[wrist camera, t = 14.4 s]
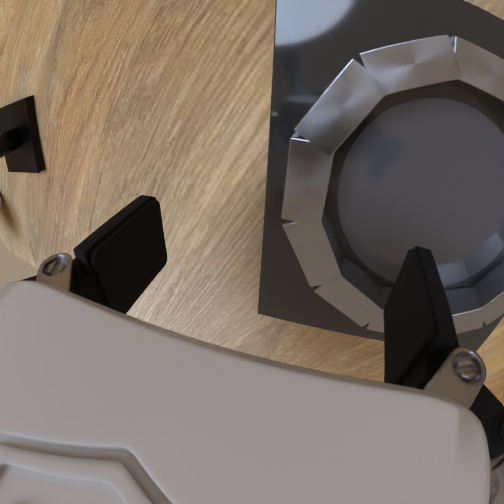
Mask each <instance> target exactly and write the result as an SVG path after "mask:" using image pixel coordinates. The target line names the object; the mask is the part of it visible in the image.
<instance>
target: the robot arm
mask: <svg viewBox="0 0 504 504" xmlns="http://www.w3.org/2000/svg"><path fill="white" fill-rule="evenodd" d="M73 250H74V253H75V256H76V258H75V259H74V260H73V259H72V257H71V255H69V254H67V253H59V254H55V255H52V256H51V257H49V258H47V259H46V260H45V261H44V262H43V263H42V264H41V265H40V268H39V270H38V274H37V276H33V277H30V278H27V279H24V280H21V281H14V282H10V283H8V284H6V285H4V286H3V287H1V288H0V504H504V406H503V404H502V403H501V402H500V401H499V400H498V399H497V398H496V397H495V396H494V395H493V394H492V393H491V391H490V390H489V389H488V388H487V387H486V386H485V385H484V384H483V383H484V381H485V378H486V367H485V364H484V362H483V360H482V358H481V357H480V356H479V355H478V354H477V352H475V351H474V350H472V349H470V348H467V347H459V343H458V339H457V334H456V330H455V326H454V322H453V318H452V314H451V310H450V307H449V303H448V300H447V296H446V293H445V290H444V287H443V284H442V281H441V278H440V275H439V272H438V269H437V266H436V263H435V260H434V257H433V254H432V252H431V250H430V249H427V248H423V247H418V246H415V247H414V248H413V249H409V250H408V252H407V255H406V257H405V260H404V262H403V265H402V267H401V270H400V272H399V275H398V277H397V279H396V282H395V284H394V286H393V288H392V291H391V293H390V295H389V297H388V300H387V302H386V304H385V307H384V312H383V317H384V348H385V373H384V383H383V382H377V381H371V380H365V379H359V378H354V377H348V376H343V375H338V374H333V373H327V372H322V371H317V370H313V369H308V368H303V367H299V366H294V365H290V364H286V363H281V362H277V361H273V360H269V359H265V358H261V357H257V356H254V355H250V354H246V353H242V352H239V351H235V350H231V349H228V348H224V347H221V346H218V345H214V344H211V343H208V342H204V341H201V340H198V339H195V338H192V337H188V336H185V335H182V334H179V333H176V332H173V331H170V330H167V329H164V328H162V327H159V326H156V325H153V324H150V323H147V322H145V321H142V320H139V319H137V318H134V317H131V316H129V315H126V313H127V312H128V311H129V309H130V308H131V307H132V306H133V304H134V303H135V302H136V300H137V299H138V298H139V297H140V295H141V294H142V293H143V292H144V290H145V289H146V288H147V287H148V285H149V284H150V283H151V282H152V281H153V279H154V278H155V277H156V276H157V274H158V273H159V272H160V271H161V270H162V268H163V267H164V266H165V264H166V262H167V252H166V245H165V239H164V232H163V225H162V218H161V210H160V204H159V202H158V201H157V200H156V198H155V197H151V196H144V195H141V196H139V197H138V198H136V199H135V200H134V201H132V202H131V203H130V204H128V205H127V206H126V207H124V208H123V209H122V210H121V211H119V212H118V213H117V214H115V215H114V216H113V217H112V218H110V219H109V220H108V221H107V222H105V223H104V224H103V225H102V226H100V227H99V228H98V229H97V230H96V231H94V232H93V233H92V234H91V235H90V236H88V237H87V238H86V239H85V240H84V241H82V242H81V243H80V244H79V245H78V246H77V247H76V248H74V249H73Z"/></svg>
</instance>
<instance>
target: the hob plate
mask: <svg viewBox="0 0 504 504" xmlns="http://www.w3.org/2000/svg"><path fill="white" fill-rule="evenodd" d="M445 34H447V35H448V36H449V37H452V36H458V37H460V38H462V39H464V40H467V41H469V42H471V43H473V44H475V45H477V46H479V47H481V48H483V49H485V50H487V51H489V52H491V53H493V54H495V55H497V56H498V57H500V58H502V59H504V20H502V19H500V18H498V17H496V16H495V15H493V14H491V13H489V12H487V11H485V10H483V9H481V8H479V7H477V6H475V5H472V4H470V3H468V2H466V1H464V0H276V11H275V34H274V55H273V75H272V95H271V113H270V131H269V149H268V166H267V182H266V198H265V214H264V229H263V244H262V259H261V274H260V288H259V302H258V314H262V315H266V316H270V317H274V318H278V319H282V320H286V321H291V322H295V323H299V324H303V325H308V326H312V327H317V328H321V329H326V330H331V331H335V332H340V333H345V334H350V335H355V336H360V337H365V338H370V339H376V340H381V341H384V333H382V332H377V331H373V330H368V329H366V327H367V324H366V325H365V326H363V327H361V326H359V325H358V324H357V323H355V322H354V321H353V320H351V319H350V318H349V317H347V316H346V315H345V314H343V313H342V312H341V311H339V310H338V309H337V308H335V307H334V306H333V305H331V304H330V303H329V302H327V301H326V300H325V299H323V298H322V297H321V296H319V295H318V294H317V293H315V292H314V289H315V286H313V287H310V285H309V283H308V281H307V278H306V276H305V274H304V272H303V269H302V267H301V265H300V263H299V261H298V258H297V256H296V254H295V252H294V250H293V247H292V245H291V243H290V241H289V239H288V236H287V234H286V232H285V230H284V228H283V223H284V220H285V219H282V218H281V214H282V206H283V197H284V189H285V180H286V171H287V162H288V153H289V143H290V137H291V136H292V135H293V134H294V133H295V131H294V128H295V126H296V125H297V124H298V123H299V121H300V120H301V119H302V118H303V116H304V115H305V114H306V113H307V111H308V110H309V109H310V108H311V106H312V105H313V104H314V103H315V101H316V100H317V99H318V98H319V97H320V95H321V94H322V93H323V92H324V90H325V89H326V88H327V87H328V86H329V84H330V83H331V82H332V81H333V80H334V78H335V77H336V76H337V75H338V74H339V72H340V71H341V70H342V69H343V68H344V66H345V65H346V64H347V63H348V62H349V61H350V59H352V58H353V59H355V60H356V61H357V62H359V61H358V59H357V56H358V55H359V53H361V52H365V51H369V50H372V49H376V48H380V47H384V46H388V45H392V44H396V43H401V42H405V41H410V40H415V39H420V38H426V37H432V36H438V35H445ZM326 201H327V204H328V206H329V209H330V212H331V214H332V217H333V220H334V222H335V225H336V228H337V231H338V233H339V236H340V239H341V242H342V245H343V248H344V250H345V251H346V252H347V253H348V254H350V255H351V256H352V257H353V258H354V259H355V260H357V261H358V262H359V263H360V264H361V265H362V266H364V267H365V268H366V269H367V270H368V271H369V272H371V273H372V274H373V275H374V276H375V277H376V278H377V279H379V280H380V281H381V282H384V283H389V284H393V285H394V284H395V282H396V279H397V277H398V275H399V272H400V270H401V267H402V265H403V262H404V260H405V257H406V255H407V252H408V250H409V249H413V248H414V247H415V246H418V247H423V248H427V249H430V250H431V252H432V254H433V257H434V260H435V263H436V266H437V269H438V272H439V275H440V278H441V281H442V284H443V287H444V288H448V287H452V286H456V285H460V284H464V283H468V282H472V281H473V280H475V279H476V278H477V277H478V276H480V275H481V274H482V273H484V272H485V271H486V270H487V269H489V268H490V267H491V266H492V265H494V264H495V263H496V262H497V261H498V260H500V259H501V258H502V257H503V256H504V113H503V112H502V110H501V109H500V107H499V106H498V104H497V103H496V102H495V101H493V100H491V99H489V98H487V97H485V96H483V95H481V94H478V93H476V92H474V91H472V90H470V89H467V88H465V87H463V86H461V85H458V84H456V83H453V82H451V81H447V82H441V83H436V84H432V85H427V86H422V87H418V88H413V89H409V90H405V91H401V92H397V93H393V94H389V95H386V96H385V97H384V98H383V99H382V100H381V101H380V102H379V103H378V105H377V106H376V107H375V108H374V109H373V110H372V111H371V112H370V113H369V115H368V116H367V117H366V118H365V119H364V120H363V121H362V122H361V123H360V125H359V126H358V127H357V128H356V129H355V130H354V131H353V132H352V134H351V135H350V136H349V137H348V138H347V139H346V140H345V141H344V142H343V144H342V145H341V146H340V147H339V148H338V149H337V150H336V151H335V153H334V159H333V165H332V170H331V176H330V181H329V187H328V192H327V197H326ZM503 316H504V314H502V315H501V316H500V317H498V318H497V319H495V320H494V321H492V322H491V323H489V324H488V325H486V324H485V322H484V321H483V325H482V328H478V329H475V330H471V331H466V332H462V333H458V334H457V339H458V343H459V347H467V348H470V349H472V350H474V351H475V352H476V351H477V350H478V349H479V347H480V346H481V345H482V344H483V343H484V341H485V340H486V339H487V338H488V336H489V335H490V334H491V333H492V331H493V330H494V329H495V327H496V326H497V325H498V323H499V322H500V321H501V319H502V318H503Z"/></svg>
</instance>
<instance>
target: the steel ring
mask: <svg viewBox="0 0 504 504" xmlns="http://www.w3.org/2000/svg"><path fill="white" fill-rule="evenodd" d="M357 59H358V61H359V62H357V61H356V60H355V59H353V58H352V59H350V61H349V62H348V63H347V64H346V65H345V66H344V68H343V69H342V70H341V71H340V72H339V74H338V75H337V76H336V77H335V78H334V80H333V81H332V82H331V83H330V84H329V86H328V87H327V88H326V89H325V90H324V92H323V93H322V94H321V95H320V97H319V98H318V99H317V100H316V101H315V103H314V104H313V105H312V106H311V108H310V109H309V110H308V111H307V113H306V114H305V115H304V116H303V118H302V119H301V120H300V121H299V123H298V124H297V125H296V126H295V128H294V131H295V133H294V134H293V135H292V136H291V137H290V143H289V153H288V162H287V171H286V180H285V189H284V197H283V206H282V214H281V218H282V219H285V220H284V223H283V228H284V230H285V232H286V234H287V236H288V239H289V241H290V243H291V245H292V247H293V250H294V252H295V254H296V256H297V258H298V261H299V263H300V265H301V267H302V269H303V272H304V274H305V276H306V278H307V281H308V283H309V285H310V287H313V286H315V289H314V292H315V293H317V294H318V295H319V296H321V297H322V298H323V299H325V300H326V301H327V302H329V303H330V304H331V305H333V306H334V307H335V308H337V309H338V310H339V311H341V312H342V313H343V314H345V315H346V316H347V317H349V318H350V319H351V320H353V321H354V322H355V323H357V324H358V325H359V326H361V327H363V326H365V325H366V324H367V327H366V329H368V330H373V331H377V332H382V333H384V317H383V312H384V307H385V304H386V302H387V300H388V297H389V295H390V293H391V291H392V288H393V286H394V285H393V284H389V283H384V282H381V281H380V280H379V279H377V278H376V277H375V276H374V275H373V274H372V273H371V272H369V271H368V270H367V269H366V268H365V267H364V266H362V265H361V264H360V263H359V262H358V261H357V260H355V259H354V258H353V257H352V256H351V255H350V254H348V253H347V252H346V251H345V250H344V248H343V245H342V242H341V239H340V236H339V233H338V231H337V228H336V225H335V222H334V220H333V217H332V214H331V212H330V209H329V206H328V204H327V201H326V197H327V192H328V187H329V181H330V176H331V170H332V165H333V159H334V153H335V151H336V150H337V149H338V148H339V147H340V146H341V145H342V144H343V142H344V141H345V140H346V139H347V138H348V137H349V136H350V135H351V134H352V132H353V131H354V130H355V129H356V128H357V127H358V126H359V125H360V123H361V122H362V121H363V120H364V119H365V118H366V117H367V116H368V115H369V113H370V112H371V111H372V110H373V109H374V108H375V107H376V106H377V105H378V103H379V102H380V101H381V100H382V99H383V98H384V97H385V96H386V95H389V94H393V93H397V92H401V91H405V90H409V89H413V88H418V87H422V86H427V85H432V84H436V83H441V82H447V81H451V82H453V83H456V84H458V85H461V86H463V87H465V88H467V89H470V90H472V91H474V92H476V93H478V94H481V95H483V96H485V97H487V98H489V99H491V100H493V101H495V102H496V103H497V104H498V106H499V107H500V109H501V110H502V112H503V113H504V59H502V58H500V57H498V56H497V55H495V54H493V53H491V52H489V51H487V50H485V49H483V48H481V47H479V46H477V45H475V44H473V43H471V42H469V41H467V40H464V39H462V38H460V37H458V36H452V37H449V36H448V35H447V34H445V35H438V36H432V37H426V38H420V39H415V40H410V41H405V42H401V43H396V44H392V45H388V46H384V47H380V48H376V49H372V50H369V51H365V52H361V53H359V55H358V56H357ZM444 290H445V293H446V296H447V300H448V303H449V307H450V310H451V314H452V318H453V322H454V326H455V330H456V334H458V333H462V332H466V331H471V330H475V329H478V328H482V325H483V321H484V322H485V324H486V325H488V324H489V323H491V322H492V321H494V320H495V319H497V318H498V317H500V316H501V315H502V314H504V256H503V257H502V258H501V259H500V260H498V261H497V262H496V263H495V264H494V265H492V266H491V267H490V268H489V269H487V270H486V271H485V272H484V273H482V274H481V275H480V276H478V277H477V278H476V279H475V280H473V281H472V282H468V283H464V284H460V285H456V286H452V287H448V288H444Z"/></svg>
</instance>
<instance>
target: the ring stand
mask: <svg viewBox="0 0 504 504" xmlns="http://www.w3.org/2000/svg"><path fill="white" fill-rule="evenodd" d="M3 156H5V159H6V163H7V167H8V171H9V172H30V173H39V172H41V171H43V170H44V169H45V166H44V161H43V156H42V152H41V147H40V141H39V136H38V130H37V123H36V116H35V109H34V100H33V95H32V96H29V97H27V98H24V99H21V100H19V101H16V102H14V103H11V104H9V105H7V106H4V107H2V108H0V158H1V157H3Z"/></svg>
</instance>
